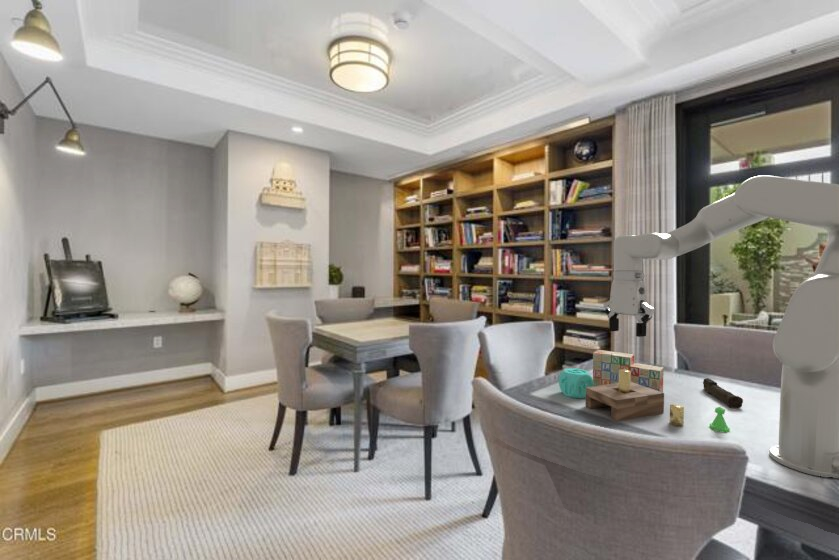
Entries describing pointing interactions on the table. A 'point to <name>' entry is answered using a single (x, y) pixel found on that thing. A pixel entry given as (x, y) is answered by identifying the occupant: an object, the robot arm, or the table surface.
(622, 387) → the tall pin
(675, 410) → the short pin
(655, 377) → the stack of blocks
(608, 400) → the bridge board
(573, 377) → the decorative dice
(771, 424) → the table surface
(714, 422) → the game piece
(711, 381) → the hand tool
